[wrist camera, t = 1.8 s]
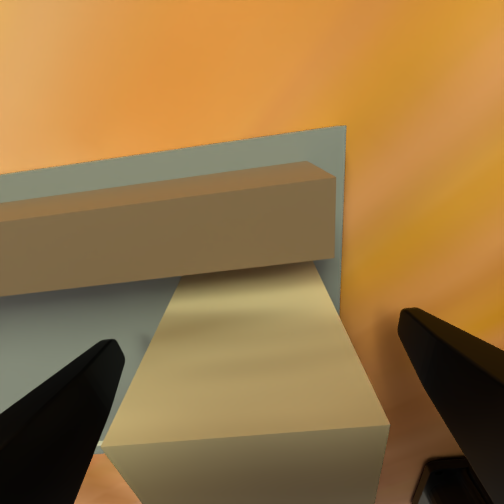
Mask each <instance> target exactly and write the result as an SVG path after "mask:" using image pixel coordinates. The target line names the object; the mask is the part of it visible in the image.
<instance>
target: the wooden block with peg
mask: <svg viewBox="0 0 504 504" xmlns="http://www.w3.org/2000/svg"><path fill="white" fill-rule="evenodd" d="M389 429H390V423H389V421H388V419H387V417H386V414H385V412H384V410H383V408H382V406H381V404H380V402H379V400H378V398H377V395H376V393H375V391H374V389H373V387H372V385H371V383H370V381H369V379H368V376H367V374H366V372H365V370H364V368H363V366H362V364H361V362H360V360H359V357H358V355H357V353H356V351H355V349H354V347H353V345H352V343H351V341H350V338H349V336H348V334H347V332H346V330H345V328H344V326H343V324H342V322H341V319H340V317H339V315H338V313H337V311H336V309H335V307H334V305H333V303H332V300H331V298H330V296H329V294H328V292H327V290H326V288H325V286H324V284H323V282H322V279H321V277H320V275H319V273H318V271H317V269H316V267H315V265H314V263H313V261H305V262H296V263H288V264H279V265H270V266H262V267H253V268H244V269H236V270H227V271H218V272H210V273H201V274H192V275H184V276H182V277H181V279H180V282H179V284H178V286H177V288H176V290H175V292H174V294H173V296H172V298H171V300H170V302H169V305H168V307H167V309H166V311H165V313H164V315H163V317H162V319H161V321H160V323H159V325H158V328H157V330H156V332H155V334H154V336H153V338H152V340H151V342H150V344H149V346H148V348H147V351H146V353H145V355H144V357H143V359H142V361H141V363H140V365H139V367H138V369H137V371H136V374H135V376H134V378H133V380H132V382H131V384H130V386H129V388H128V390H127V392H126V394H125V397H124V399H123V401H122V403H121V405H120V407H119V409H118V411H117V413H116V415H115V417H114V420H113V422H112V424H111V426H110V428H109V430H108V432H107V434H106V436H105V438H104V440H103V443H102V445H101V449H102V450H103V451H104V453H105V454H106V455H107V457H108V458H109V459H110V461H111V462H112V463H113V465H114V466H115V468H116V469H117V470H118V472H119V473H120V474H121V476H122V477H123V478H124V480H125V481H126V482H127V484H128V485H129V486H130V488H131V489H132V490H133V492H134V493H135V494H136V496H137V497H138V498H139V500H140V501H141V502H142V504H374V503H375V498H376V493H377V488H378V483H379V478H380V474H381V469H382V464H383V459H384V454H385V449H386V444H387V439H388V434H389Z"/></svg>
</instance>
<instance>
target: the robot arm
mask: <svg viewBox="0 0 504 504" xmlns="http://www.w3.org/2000/svg"><path fill="white" fill-rule="evenodd" d="M398 335H399V338H400V340H401V342H402V344H403V346H404V348H405V350H406V352H407V354H408V356H409V358H410V361H411V363H412V365H413V367H414V369H415V371H416V373H417V375H418V377H419V379H420V381H421V383H422V385H423V387H424V389H425V390H426V392H427V394H428V396H429V397H430V399H431V400H432V402H433V404H434V405H435V407H436V409H437V410H438V412H439V414H440V415H441V417H442V419H443V420H444V422H445V424H446V425H447V427H448V428H449V430H450V432H451V433H452V435H453V437H454V438H455V440H456V442H457V443H458V445H459V447H460V448H461V450H462V452H463V453H464V455H465V456H466V458H467V459H453V460H439V461H432V462H429V463H427V464H426V466H425V469H424V471H423V474H422V477H421V479H420V482H419V485H418V488H417V490H416V493H415V496H414V498H413V501H412V504H504V351H503V350H501V349H499V348H497V347H495V346H493V345H491V344H489V343H487V342H485V341H483V340H481V339H479V338H477V337H475V336H473V335H471V334H469V333H467V332H465V331H463V330H461V329H459V328H457V327H455V326H453V325H451V324H449V323H447V322H445V321H443V320H441V319H439V318H437V317H435V316H433V315H431V314H429V313H427V312H425V311H423V310H421V309H419V308H415V307H414V308H404V309H402V310H401V312H400V318H399V323H398ZM124 365H125V356H124V353H123V352H122V350H121V348H120V346H119V344H118V342H117V340H115V339H104V340H101V341H99V342H98V343H96V344H95V345H93V346H92V347H91V348H89V349H88V350H87V351H85V352H84V353H83V354H81V355H80V356H78V357H77V358H76V359H74V360H73V361H72V362H70V363H69V364H67V365H66V366H65V367H63V368H62V369H61V370H59V371H58V372H57V373H55V374H54V375H52V376H51V377H50V378H48V379H47V380H46V381H44V382H43V383H42V384H40V385H39V386H37V387H36V388H35V389H33V390H32V391H31V392H29V393H28V394H27V395H25V396H24V397H22V398H21V399H20V400H18V401H17V402H16V403H14V404H13V405H11V406H10V407H9V408H7V409H6V410H5V411H3V412H2V413H1V414H0V504H74V502H75V499H76V497H77V494H78V492H79V489H80V487H81V484H82V482H83V479H84V477H85V474H86V472H87V469H88V467H89V464H90V462H91V459H92V457H93V454H94V452H95V449H96V447H97V444H98V442H99V439H100V437H101V434H102V432H103V429H104V427H105V424H106V422H107V419H108V417H109V414H110V411H111V408H112V405H113V402H114V398H115V395H116V391H117V388H118V385H119V381H120V378H121V375H122V371H123V368H124Z"/></svg>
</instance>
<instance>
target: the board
mask: <svg viewBox="0 0 504 504" xmlns="http://www.w3.org/2000/svg"><path fill="white" fill-rule="evenodd" d="M345 147H346V126H333V127H326V128H319V129H312V130H305V131H298V132H291V133H284V134H278V135H271V136H264V137H257V138H250V139H243V140H236V141H229V142H222V143H215V144H208V145H201V146H195V147H188V148H181V149H174V150H167V151H160V152H153V153H146V154H139V155H132V156H125V157H118V158H112V159H105V160H98V161H91V162H84V163H77V164H70V165H63V166H56V167H49V168H42V169H35V170H29V171H22V172H15V173H8V174H1V175H0V414H1V413H2V412H3V411H5V410H6V409H7V408H9V407H10V406H11V405H13V404H14V403H16V402H17V401H18V400H20V399H21V398H22V397H24V396H25V395H27V394H28V393H29V392H31V391H32V390H33V389H35V388H36V387H37V386H39V385H40V384H42V383H43V382H44V381H46V380H47V379H48V378H50V377H51V376H52V375H54V374H55V373H57V372H58V371H59V370H61V369H62V368H63V367H65V366H66V365H67V364H69V363H70V362H72V361H73V360H74V359H76V358H77V357H78V356H80V355H81V354H83V353H84V352H85V351H87V350H88V349H89V348H91V347H92V346H93V345H95V344H96V343H98V342H99V341H101V340H104V339H115V340H117V342H118V344H119V346H120V348H121V350H122V352H123V353H124V356H125V365H124V368H123V371H122V375H121V378H120V381H119V385H118V388H117V391H116V395H115V398H114V402H113V405H112V408H111V411H110V414H109V417H108V419H107V422H106V424H105V427H104V429H103V432H102V434H101V437H100V439H99V442H98V444H97V447H96V449H95V452H94V454H102V453H104V451H103V450H102V449H101V445H102V443H103V440H104V438H105V436H106V434H107V432H108V430H109V428H110V426H111V424H112V422H113V420H114V417H115V415H116V413H117V411H118V409H119V407H120V405H121V403H122V401H123V399H124V397H125V394H126V392H127V390H128V388H129V386H130V384H131V382H132V380H133V378H134V376H135V374H136V371H137V369H138V367H139V365H140V363H141V361H142V359H143V357H144V355H145V353H146V351H147V348H148V346H149V344H150V342H151V340H152V338H153V336H154V334H155V332H156V330H157V328H158V325H159V323H160V321H161V319H162V317H163V315H164V313H165V311H166V309H167V307H168V305H169V302H170V300H171V298H172V296H173V294H174V292H175V290H176V288H177V286H178V284H179V282H180V279H181V277H182V276H184V275H192V274H201V273H210V272H218V271H227V270H236V269H244V268H253V267H262V266H270V265H279V264H288V263H296V262H305V261H313V263H314V265H315V267H316V269H317V271H318V273H319V275H320V277H321V279H322V282H323V284H324V286H325V288H326V290H327V292H328V294H329V296H330V298H331V300H332V303H333V305H334V307H335V309H336V311H337V313H338V315H339V310H340V283H341V256H342V229H343V202H344V174H345Z"/></svg>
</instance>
